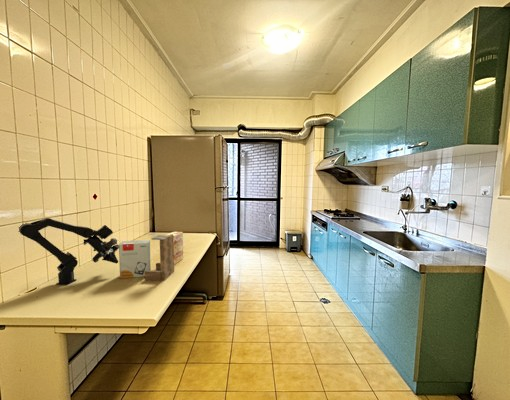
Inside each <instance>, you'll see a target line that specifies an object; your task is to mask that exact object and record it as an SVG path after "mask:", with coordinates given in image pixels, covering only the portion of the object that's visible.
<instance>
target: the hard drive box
mask: <svg viewBox="0 0 510 400" xmlns="http://www.w3.org/2000/svg"><path fill="white" fill-rule="evenodd" d="M118 245H119V249H118V251H119V252H118V253H119V255H118V257H119V258H118V259H119V260H118V263H119V279H130V278H142V277H144V278H145V271H146V270H151V271H152V269H151V240H150V239H143V240H125V241H124V240H123V241H121V242H120V243H119V244H118Z"/></svg>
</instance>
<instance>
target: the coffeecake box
mask: <svg viewBox="0 0 510 400" xmlns="http://www.w3.org/2000/svg"><path fill="white" fill-rule="evenodd" d="M183 233H184V231H172V232H170V233H169V232H168V233H167V234H166V235H170V234H173V245H174V265H176V264H178V263H180V262H181V261H182V260H184V235H183Z"/></svg>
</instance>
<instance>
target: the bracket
mask: <svg viewBox="0 0 510 400" xmlns="http://www.w3.org/2000/svg"><path fill="white" fill-rule="evenodd" d="M151 240H154V241H155V240H156V241H158V240H159V258H160V261H159V262H156V263H155V270H152V269H151V270H146V271H145V276H144V280H145V281H157V282H159V281H160V282H161V281H166V280H167V279H168V278H170V276H171V275H172V274H173V273H175V264H174V245H173V234H170V235H167V234H163V235H162V234H159V235H156V236H153V237H151Z"/></svg>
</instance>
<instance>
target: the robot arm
mask: <svg viewBox="0 0 510 400" xmlns="http://www.w3.org/2000/svg"><path fill="white" fill-rule="evenodd" d="M20 225H21V224H20ZM20 225H19V226H20ZM19 226H18V228H19V231H18V232H20V233H19V234H20V235H22V236H24V237H25V238H27V239H29V240H32V241H33V242H36V243H37V244H39V245H40V246H41V247H42V248H44V250H46V251H47V252H49V253H50V254H51V255H53V256H54V257H55V258H56V259H57V260H58V261H59V263H60V264H58V266H57V267H56V268H57V269H56V270H57V271H58V273H57V277H58V281H57V282H56V283H55V285H59V286H60V285H61V286H67V285H69V284H70V285H71V284H72V283H73V282H76V281H77V278H75V272H74V270H75V268H76V267H77V266H78V263H79V262H78V260H77V256H74V255H73V254H72V253H71V252H69V251H67V252H66V253H65V252H63V251H62V250H61V249H59V247H57V246H56V245H54V244H53V243H52V242H50V241H49V240H48V239H47V238H46V237H44V236H43V235H42V233H41V232H40V231H41V230H43V229H47V227H51V228H56V229H57V230H63V231H67V232H70V233H73V234H75V235H78V236H81V237H82V238H84V239H83V243H82V244H83V246H86V245H90V246H91V247H92V249H93V250H92V251H93V252H97V253H96V254H95V255H94V256H93V257H92V262H93V263H97V262H99V260H100V259H101V258H102V260H101V261H106V262H110V263H113V264H118V263H119V260H118V258H117V256H116V252H117V251H119V244H118V239H116V237H113V238H110V240H108V241H103V240H106V239H108V238H109V237H111V235H113V234H114V232H113V230H112V229H111V228H109V227H108V226H107V225H106V224H105V225H102V227H100V228H98V229H97V230H96V229H92V228H91V227H88V226H87V227H86V226H80V225H73V224H69V223H66V222H63V221H60V220H55V219H52V218H50V217H45V218H42V219H39V220H36V221H32V222H30V223H28V222H25V224H24V223H22V225H21V226H20V227H19Z"/></svg>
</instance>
